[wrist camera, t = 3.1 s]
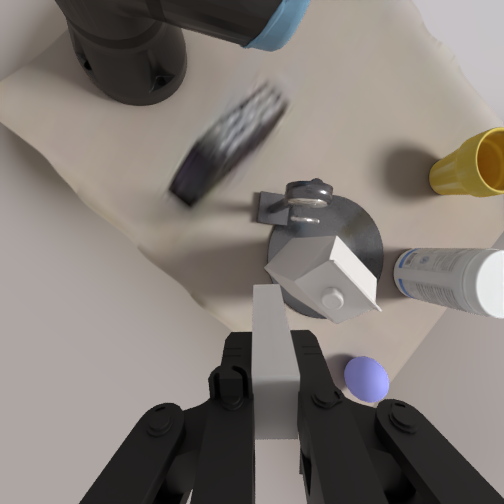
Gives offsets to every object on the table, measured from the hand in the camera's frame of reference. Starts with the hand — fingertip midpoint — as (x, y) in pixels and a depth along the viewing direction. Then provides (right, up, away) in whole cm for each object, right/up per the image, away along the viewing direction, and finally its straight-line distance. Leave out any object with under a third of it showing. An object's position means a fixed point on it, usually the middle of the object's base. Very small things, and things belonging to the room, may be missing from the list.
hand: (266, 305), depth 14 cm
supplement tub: (+30, -1, +33) cm, 44 cm away
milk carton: (+6, +1, +28) cm, 28 cm away
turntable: (+13, +2, +29) cm, 32 cm away
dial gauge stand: (+3, +10, +27) cm, 29 cm away
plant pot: (+36, +18, +33) cm, 52 cm away
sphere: (+18, -19, +31) cm, 40 cm away
